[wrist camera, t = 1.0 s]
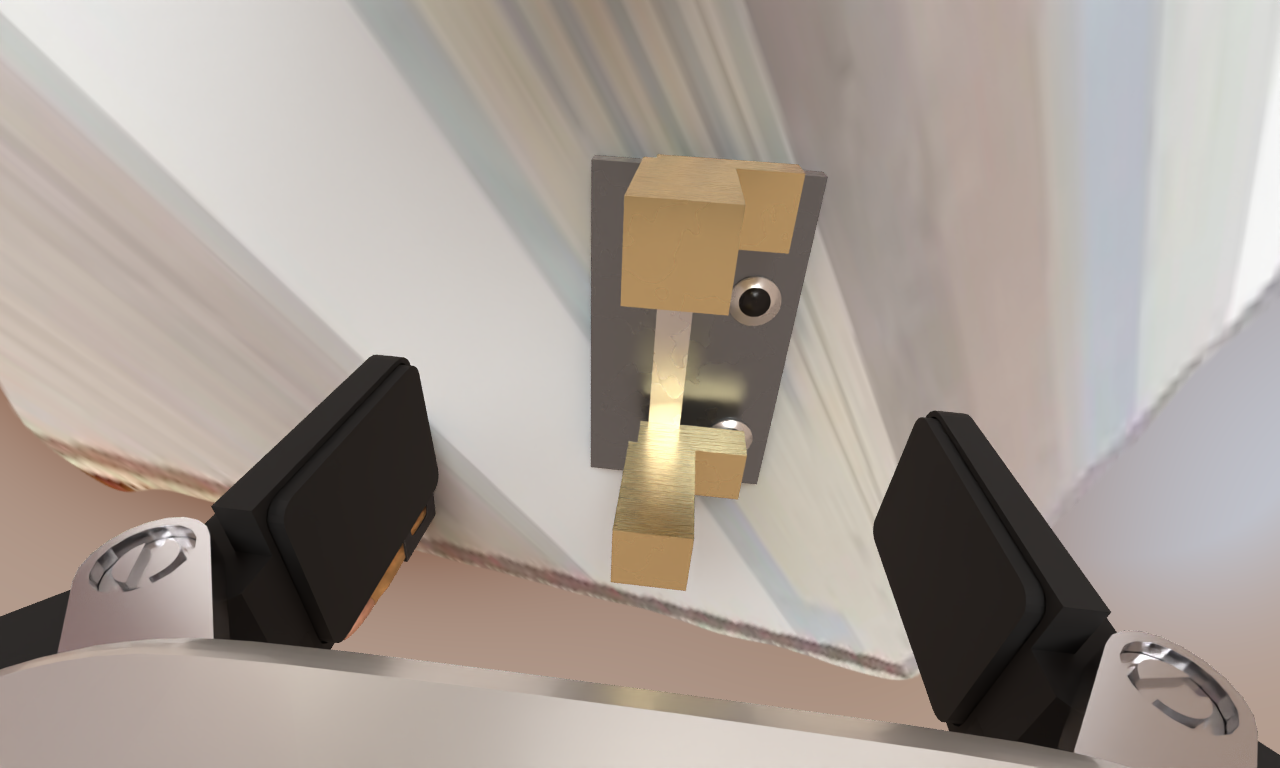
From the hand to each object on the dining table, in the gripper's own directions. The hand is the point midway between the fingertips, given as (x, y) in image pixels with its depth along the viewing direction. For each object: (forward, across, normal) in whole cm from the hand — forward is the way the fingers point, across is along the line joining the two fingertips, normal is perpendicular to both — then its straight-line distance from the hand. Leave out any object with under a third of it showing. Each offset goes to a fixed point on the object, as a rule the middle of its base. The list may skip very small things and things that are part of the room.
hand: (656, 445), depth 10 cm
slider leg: (+20, -2, 0) cm, 20 cm away
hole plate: (+22, -1, +9) cm, 24 cm away
